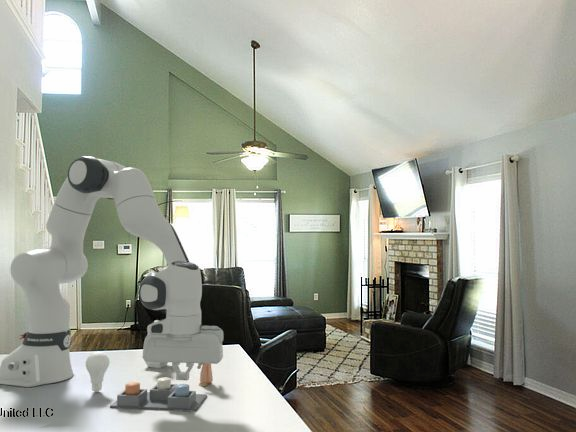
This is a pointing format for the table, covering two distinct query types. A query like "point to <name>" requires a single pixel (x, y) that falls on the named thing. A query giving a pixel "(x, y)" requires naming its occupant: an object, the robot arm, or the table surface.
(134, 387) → the rust button
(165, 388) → the cream button
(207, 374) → the grandmother figurine
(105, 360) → the lightbulb
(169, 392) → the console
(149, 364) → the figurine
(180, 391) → the slate button
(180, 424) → the table surface
